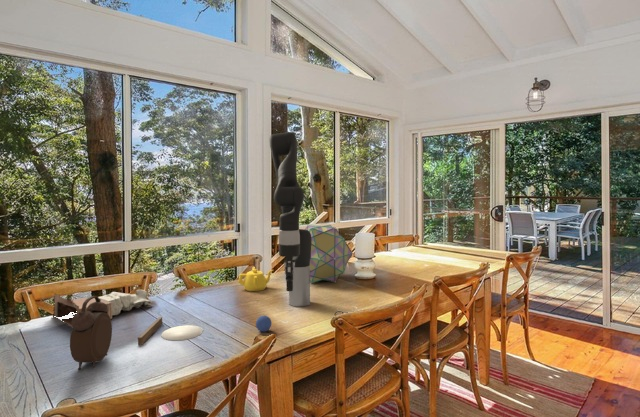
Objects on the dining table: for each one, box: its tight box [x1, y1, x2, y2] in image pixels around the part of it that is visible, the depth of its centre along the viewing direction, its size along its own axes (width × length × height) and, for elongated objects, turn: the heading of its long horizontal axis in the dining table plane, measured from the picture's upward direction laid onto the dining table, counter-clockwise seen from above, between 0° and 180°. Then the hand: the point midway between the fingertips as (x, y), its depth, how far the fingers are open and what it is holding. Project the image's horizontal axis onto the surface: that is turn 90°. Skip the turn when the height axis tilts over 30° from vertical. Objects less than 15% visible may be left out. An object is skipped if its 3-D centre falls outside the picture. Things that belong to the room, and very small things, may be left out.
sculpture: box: [305, 224, 354, 285], centre depth 219 cm, size 30×30×30 cm
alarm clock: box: [69, 295, 113, 371], centre depth 118 cm, size 15×7×20 cm, turn 5°
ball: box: [255, 315, 272, 332], centre depth 144 cm, size 6×6×6 cm
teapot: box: [238, 266, 274, 292], centre depth 202 cm, size 14×13×10 cm
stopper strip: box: [137, 316, 163, 346], centre depth 142 cm, size 1×20×2 cm, turn 3°
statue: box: [52, 289, 153, 335], centre depth 163 cm, size 24×35×10 cm
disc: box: [161, 324, 203, 342], centre depth 143 cm, size 14×14×1 cm
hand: (289, 289), depth 144 cm, fingers closed
